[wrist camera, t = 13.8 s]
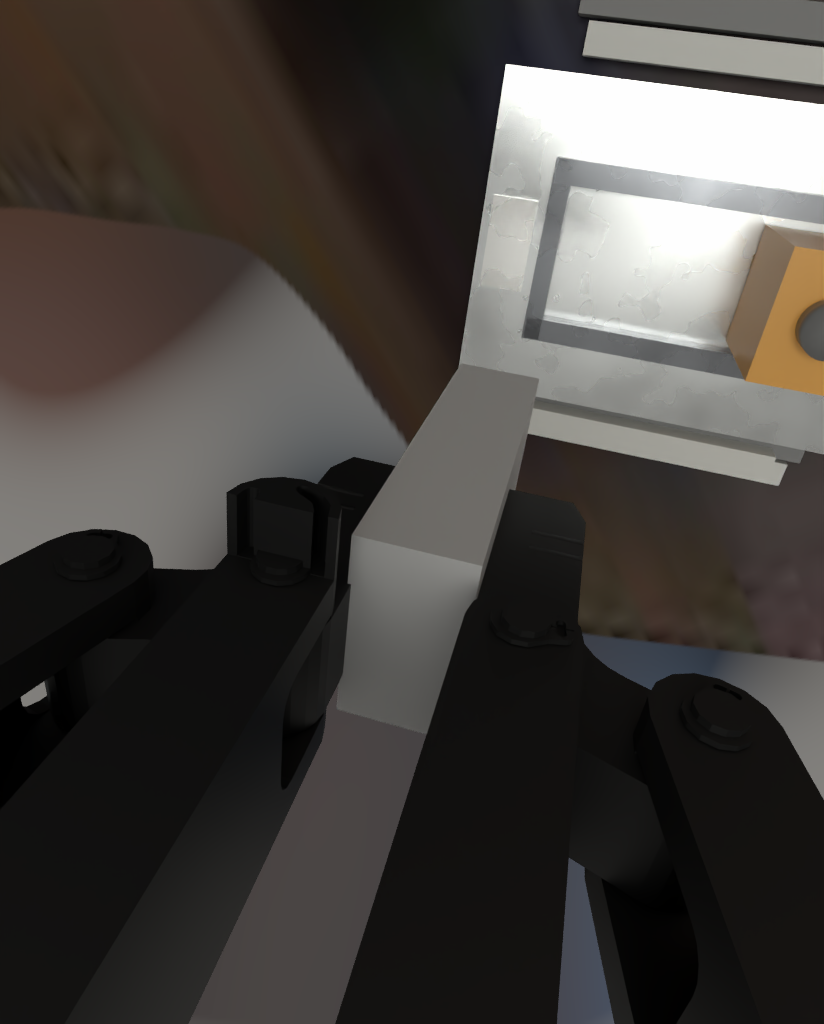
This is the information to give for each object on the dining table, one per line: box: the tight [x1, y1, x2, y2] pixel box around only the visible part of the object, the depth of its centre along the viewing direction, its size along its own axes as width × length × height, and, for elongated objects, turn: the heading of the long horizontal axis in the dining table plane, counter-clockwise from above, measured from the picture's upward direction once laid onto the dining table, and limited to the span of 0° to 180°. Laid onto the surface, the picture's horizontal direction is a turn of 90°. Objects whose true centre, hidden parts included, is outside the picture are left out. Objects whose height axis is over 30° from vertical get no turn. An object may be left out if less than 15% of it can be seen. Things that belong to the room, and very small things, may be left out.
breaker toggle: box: [726, 225, 824, 396], centre depth 28 cm, size 4×5×7 cm
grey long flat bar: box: [578, 0, 824, 87], centre depth 29 cm, size 14×3×1 cm, turn 83°
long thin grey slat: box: [528, 397, 805, 486], centre depth 37 cm, size 14×3×2 cm, turn 83°
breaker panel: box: [459, 64, 824, 454], centre depth 32 cm, size 20×14×3 cm
